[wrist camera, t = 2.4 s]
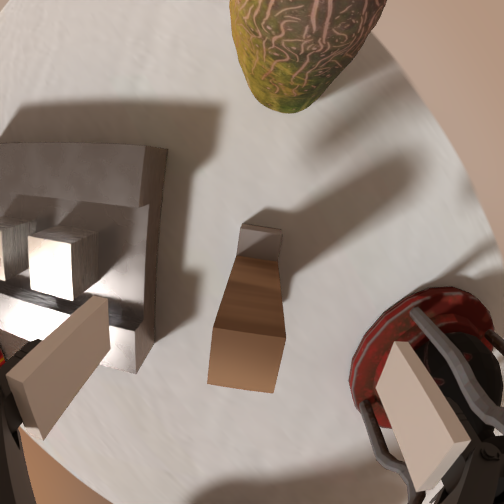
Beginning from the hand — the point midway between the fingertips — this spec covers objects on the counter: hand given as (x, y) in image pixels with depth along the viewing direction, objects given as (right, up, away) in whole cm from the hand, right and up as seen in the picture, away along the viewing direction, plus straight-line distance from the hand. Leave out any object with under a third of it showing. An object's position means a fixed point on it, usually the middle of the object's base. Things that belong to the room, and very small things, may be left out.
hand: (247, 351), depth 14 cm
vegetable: (+3, +17, +9) cm, 19 cm away
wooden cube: (-14, +4, +9) cm, 17 cm away
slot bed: (-17, +6, +12) cm, 22 cm away
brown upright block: (0, +3, +12) cm, 13 cm away
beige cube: (-20, +5, +9) cm, 23 cm away
